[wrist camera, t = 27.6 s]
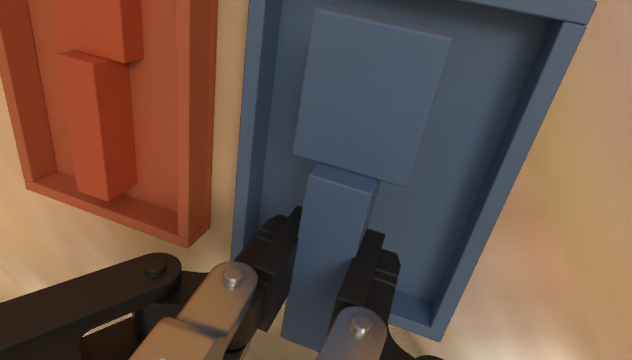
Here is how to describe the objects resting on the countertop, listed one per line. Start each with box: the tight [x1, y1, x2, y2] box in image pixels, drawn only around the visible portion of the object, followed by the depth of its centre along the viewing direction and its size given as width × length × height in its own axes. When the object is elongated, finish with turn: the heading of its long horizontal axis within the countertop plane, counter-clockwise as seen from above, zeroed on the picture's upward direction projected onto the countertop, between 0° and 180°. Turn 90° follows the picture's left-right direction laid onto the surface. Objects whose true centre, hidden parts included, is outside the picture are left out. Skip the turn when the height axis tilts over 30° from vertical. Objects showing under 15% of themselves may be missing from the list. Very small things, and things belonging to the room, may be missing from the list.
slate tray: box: [230, 0, 597, 342], centre depth 15 cm, size 13×10×2 cm
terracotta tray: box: [0, 0, 218, 249], centre depth 18 cm, size 13×10×2 cm
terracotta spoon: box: [50, 0, 144, 201], centre depth 17 cm, size 10×3×2 cm, turn 170°
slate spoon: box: [281, 6, 454, 352], centre depth 12 cm, size 10×3×2 cm, turn 170°
